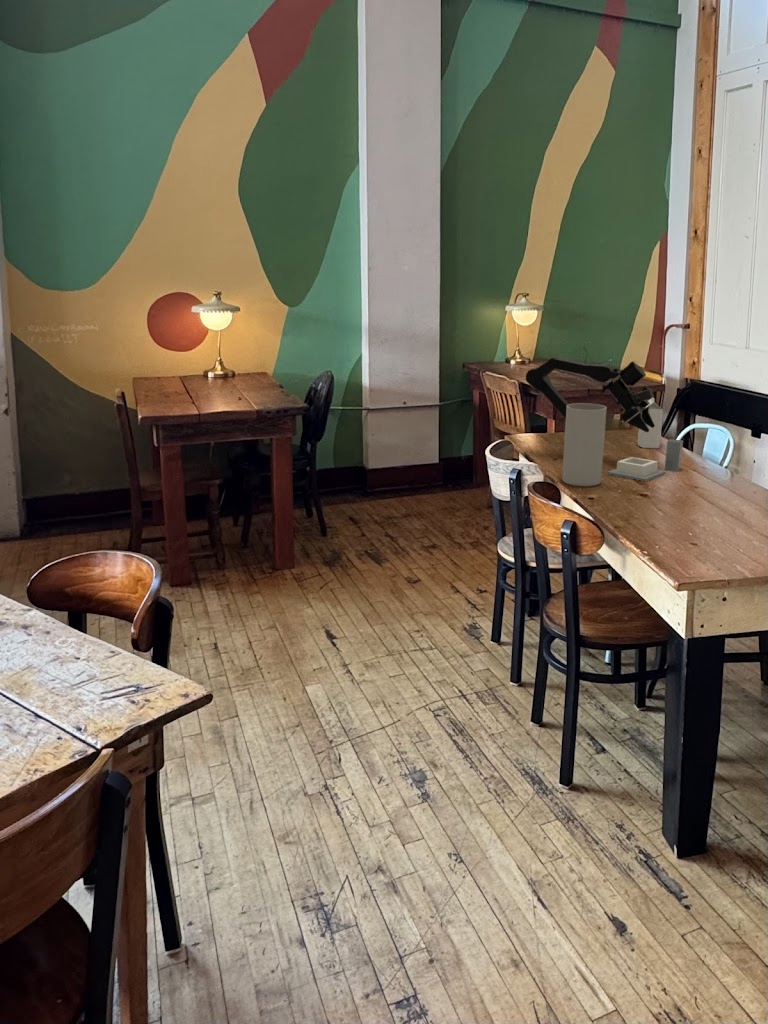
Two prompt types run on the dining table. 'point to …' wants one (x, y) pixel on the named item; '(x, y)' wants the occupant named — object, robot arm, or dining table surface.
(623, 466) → the socket block
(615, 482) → the dining table surface
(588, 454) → the cylinder vase
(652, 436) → the milk carton
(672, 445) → the square bit
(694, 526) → the dining table surface
